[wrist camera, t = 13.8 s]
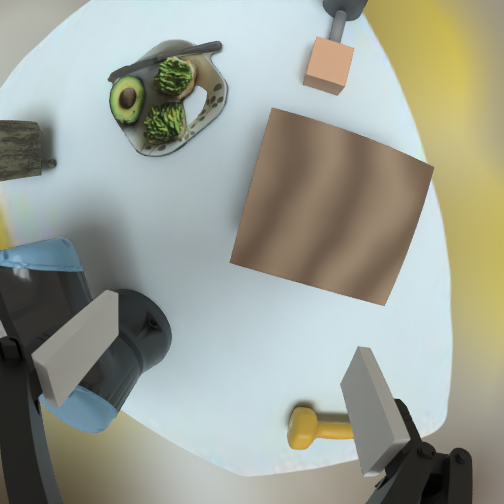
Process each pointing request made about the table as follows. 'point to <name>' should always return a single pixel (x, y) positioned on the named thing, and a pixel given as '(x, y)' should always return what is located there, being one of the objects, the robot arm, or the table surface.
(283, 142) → the lane shelf
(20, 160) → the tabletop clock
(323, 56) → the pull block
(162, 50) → the avocado toast plate
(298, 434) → the dumbbell
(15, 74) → the table surface
